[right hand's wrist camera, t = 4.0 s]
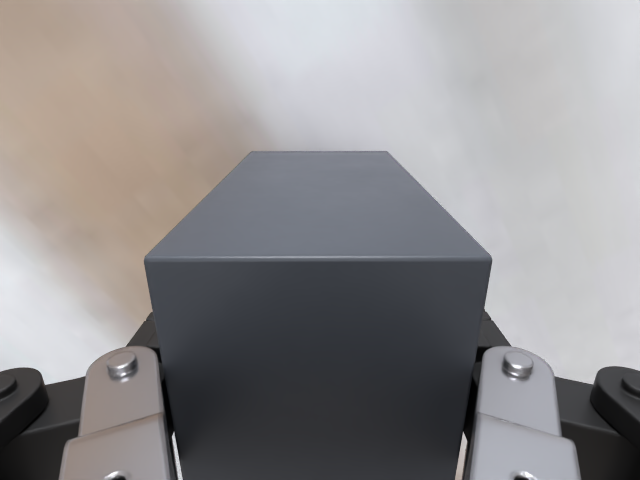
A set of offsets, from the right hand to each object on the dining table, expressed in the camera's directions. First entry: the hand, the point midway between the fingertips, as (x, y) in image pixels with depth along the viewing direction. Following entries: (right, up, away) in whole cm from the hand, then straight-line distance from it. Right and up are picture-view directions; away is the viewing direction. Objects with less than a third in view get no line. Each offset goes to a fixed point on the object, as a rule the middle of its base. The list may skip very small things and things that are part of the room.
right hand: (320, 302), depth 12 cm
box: (0, -6, +9) cm, 11 cm away
